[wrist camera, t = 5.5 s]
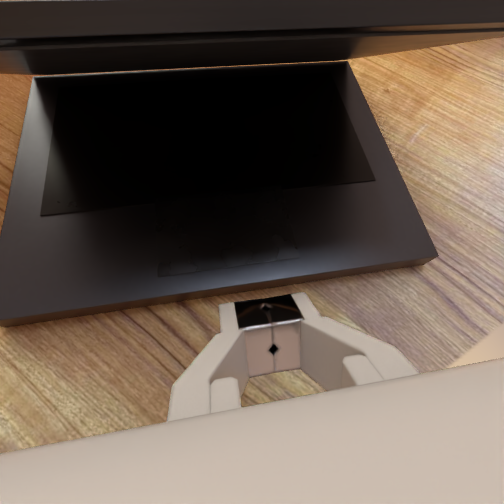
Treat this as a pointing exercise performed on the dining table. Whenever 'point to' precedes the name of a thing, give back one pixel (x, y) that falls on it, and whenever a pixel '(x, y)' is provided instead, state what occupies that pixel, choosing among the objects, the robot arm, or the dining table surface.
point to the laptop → (198, 189)
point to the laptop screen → (227, 32)
